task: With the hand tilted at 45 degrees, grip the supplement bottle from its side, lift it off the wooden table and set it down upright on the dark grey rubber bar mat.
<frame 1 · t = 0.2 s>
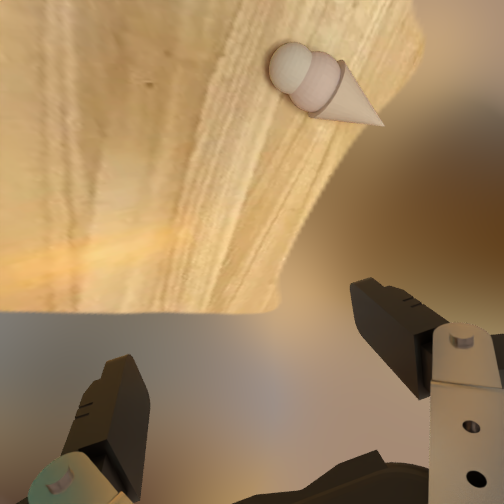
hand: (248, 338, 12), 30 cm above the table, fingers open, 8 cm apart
ice cream cone: (318, 87, 39), on the table
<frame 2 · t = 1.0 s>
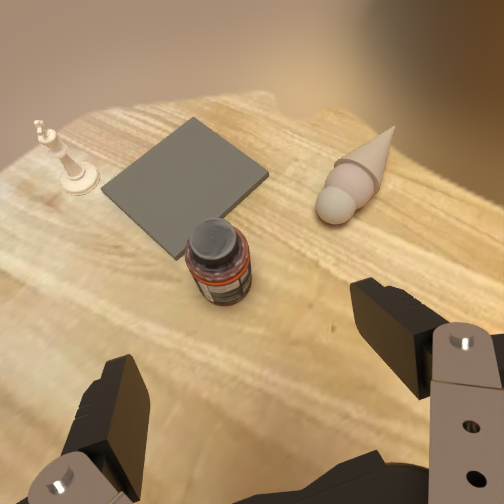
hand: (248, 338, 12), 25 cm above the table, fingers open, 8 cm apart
ice cream cone: (352, 187, 44), on the table
bar mat: (186, 184, 45), on the table
chess piece: (81, 180, 46), on the table
supplement bottle: (225, 282, 39), on the table
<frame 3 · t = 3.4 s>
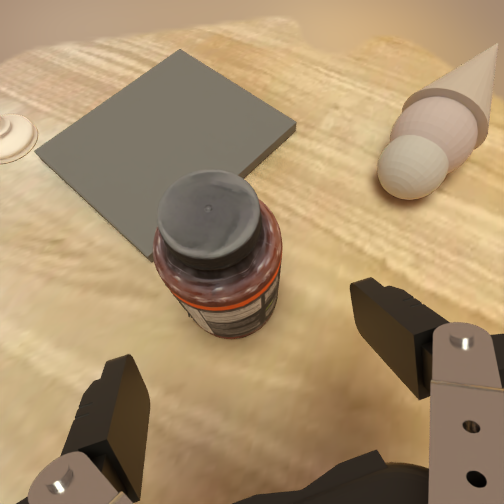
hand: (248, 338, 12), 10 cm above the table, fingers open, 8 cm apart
ice cream cone: (426, 145, 29), on the table
bar mat: (169, 145, 29), on the table
chess piece: (10, 142, 30), on the table
supplement bottle: (232, 297, 24), on the table
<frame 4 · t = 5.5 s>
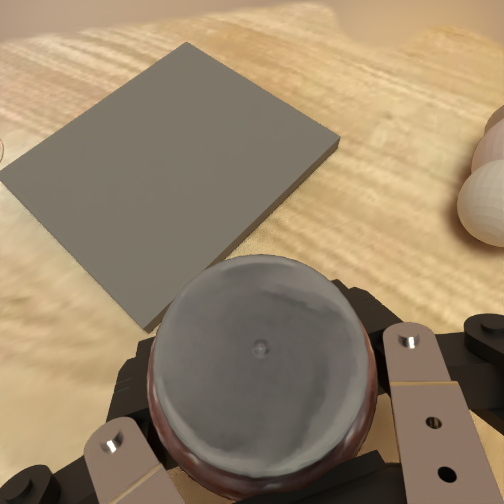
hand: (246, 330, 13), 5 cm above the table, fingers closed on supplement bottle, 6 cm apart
bar mat: (172, 166, 22), on the table
supplement bottle: (262, 387, 17), on the table, touching gripper
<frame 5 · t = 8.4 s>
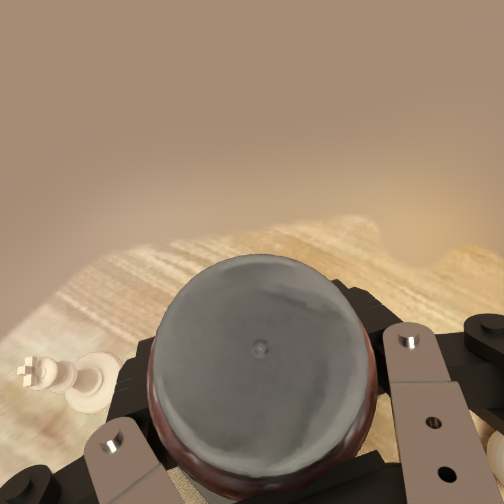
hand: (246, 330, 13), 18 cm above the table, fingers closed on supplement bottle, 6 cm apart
bar mat: (262, 393, 29), on the table
chess piece: (97, 382, 30), on the table
supplement bottle: (262, 387, 17), point 13 cm above the table, touching gripper
when the fingers open (7 cm above the table, at t = 11.3 s): supplement bottle stays where it is, resting on bar mat.
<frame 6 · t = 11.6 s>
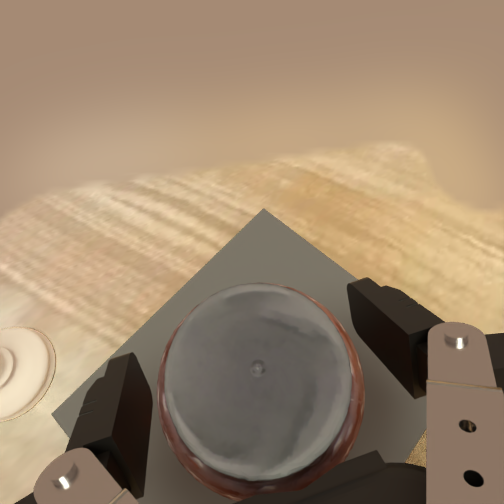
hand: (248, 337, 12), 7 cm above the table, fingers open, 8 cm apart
bar mat: (262, 389, 19), on the table
chess piece: (13, 372, 20), on the table
supplement bottle: (262, 393, 18), point 1 cm above the table, touching bar mat
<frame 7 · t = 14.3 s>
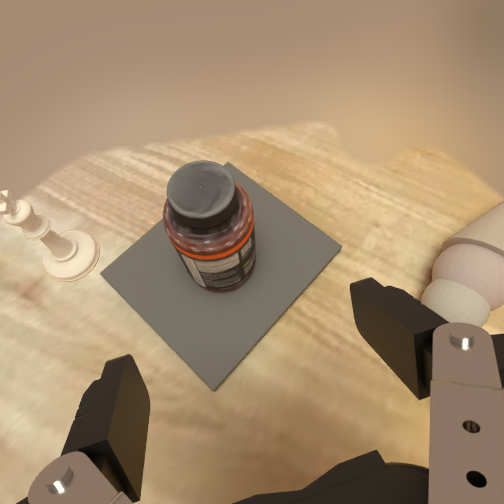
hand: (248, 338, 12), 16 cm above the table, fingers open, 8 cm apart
ice cream cone: (463, 267, 31), on the table
bar mat: (222, 264, 31), on the table
chess piece: (73, 257, 32), on the table
supplement bottle: (222, 262, 30), point 1 cm above the table, touching bar mat
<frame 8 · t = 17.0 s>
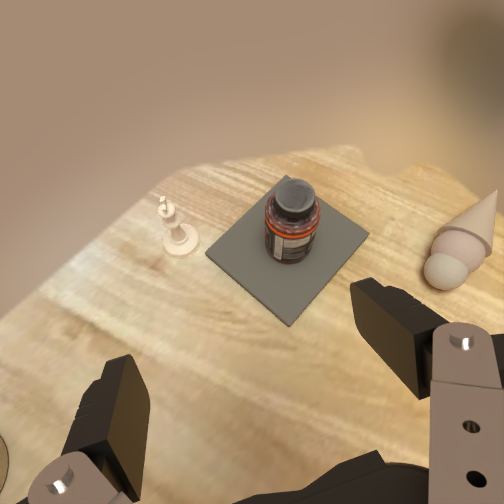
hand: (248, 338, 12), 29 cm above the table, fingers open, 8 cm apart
ice cream cone: (452, 247, 45), on the table
bar mat: (287, 246, 45), on the table
chess piece: (182, 242, 46), on the table
supplement bottle: (287, 244, 45), point 1 cm above the table, touching bar mat
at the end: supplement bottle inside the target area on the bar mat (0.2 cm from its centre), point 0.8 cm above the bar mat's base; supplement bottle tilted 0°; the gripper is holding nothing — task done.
